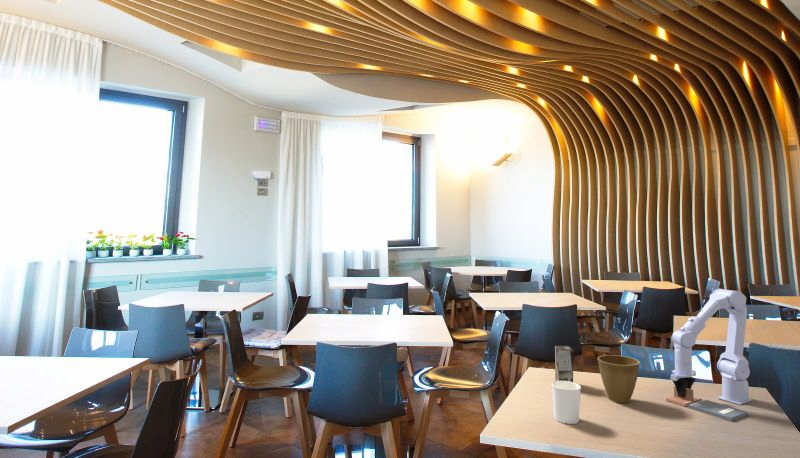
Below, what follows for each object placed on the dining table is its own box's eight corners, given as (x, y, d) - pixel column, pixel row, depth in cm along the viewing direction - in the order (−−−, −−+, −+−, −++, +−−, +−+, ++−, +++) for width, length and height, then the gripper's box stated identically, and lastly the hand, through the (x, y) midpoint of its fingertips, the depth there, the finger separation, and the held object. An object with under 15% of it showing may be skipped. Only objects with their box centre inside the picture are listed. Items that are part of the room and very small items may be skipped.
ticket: (705, 402, 171) (705, 399, 171) (747, 415, 159) (747, 411, 159) (688, 408, 165) (688, 404, 165) (731, 421, 153) (731, 417, 153)
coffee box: (573, 388, 186) (573, 350, 187) (558, 387, 188) (558, 349, 188) (570, 382, 195) (569, 345, 196) (554, 380, 196) (554, 344, 197)
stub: (682, 395, 179) (682, 383, 179) (701, 401, 172) (701, 388, 173) (665, 400, 173) (665, 387, 173) (685, 406, 167) (684, 393, 167)
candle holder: (580, 416, 157) (580, 382, 157) (582, 426, 148) (581, 391, 148) (551, 412, 160) (551, 379, 161) (551, 422, 151) (551, 387, 151)
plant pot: (611, 391, 184) (611, 353, 184) (647, 402, 171) (647, 361, 171) (590, 397, 176) (589, 357, 176) (625, 410, 163) (625, 366, 163)
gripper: (682, 357, 180) (683, 390, 180) (662, 361, 173) (662, 396, 173) (701, 361, 174) (701, 395, 174) (681, 366, 167) (681, 401, 166)
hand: (683, 396), depth 173 cm, fingers closed on stub, 2 cm apart
